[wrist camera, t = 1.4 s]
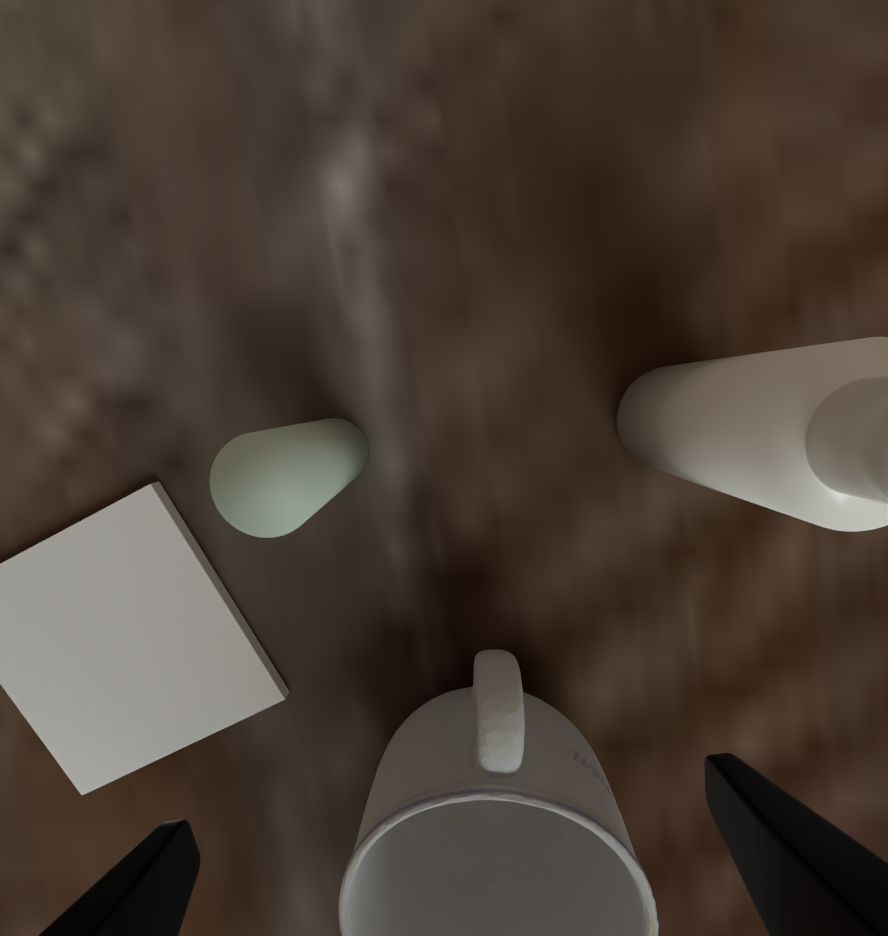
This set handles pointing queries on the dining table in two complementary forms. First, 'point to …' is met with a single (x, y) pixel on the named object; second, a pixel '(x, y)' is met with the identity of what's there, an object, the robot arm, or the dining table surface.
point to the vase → (773, 429)
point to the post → (285, 474)
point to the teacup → (493, 825)
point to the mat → (126, 642)
